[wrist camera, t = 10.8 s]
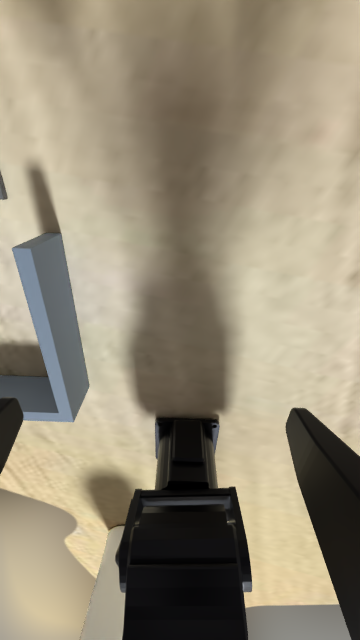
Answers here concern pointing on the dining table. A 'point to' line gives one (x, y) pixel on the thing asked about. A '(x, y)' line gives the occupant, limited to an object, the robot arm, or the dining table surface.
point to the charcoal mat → (2, 189)
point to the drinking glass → (106, 596)
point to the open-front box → (49, 335)
